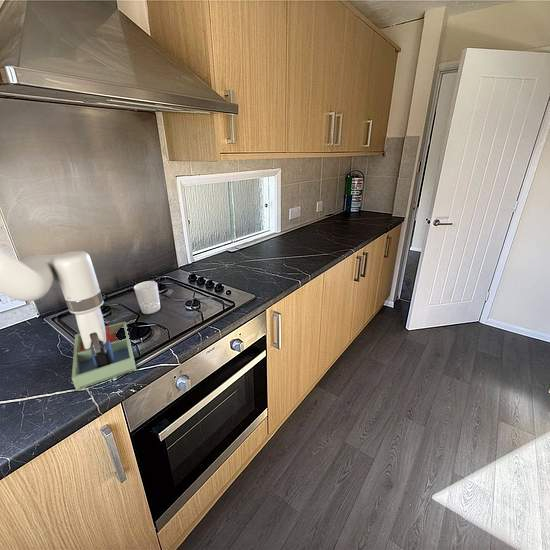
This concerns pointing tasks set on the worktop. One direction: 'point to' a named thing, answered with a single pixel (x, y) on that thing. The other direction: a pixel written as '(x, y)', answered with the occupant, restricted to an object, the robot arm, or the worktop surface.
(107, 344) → the blue block
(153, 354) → the worktop surface
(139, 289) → the white cup
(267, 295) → the worktop surface
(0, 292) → the robot arm
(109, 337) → the red block
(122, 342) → the tray
